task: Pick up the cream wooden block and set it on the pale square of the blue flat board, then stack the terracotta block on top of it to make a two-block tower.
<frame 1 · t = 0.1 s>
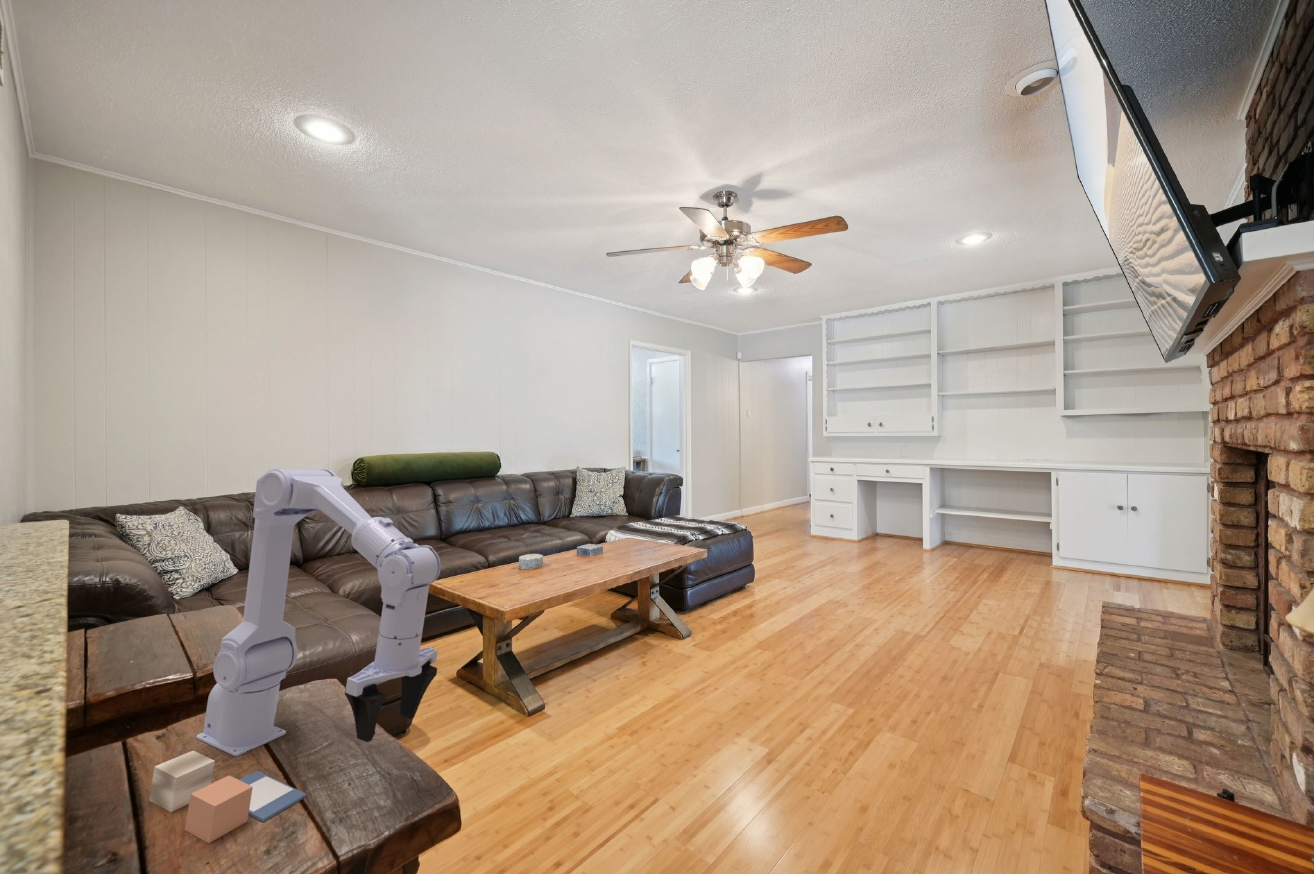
hand: (386, 727, 79), 10 cm above the table, tool pointing down, fingers open, 7 cm apart
cream block: (179, 797, 73), on the table
terracotta block: (216, 826, 69), on the table
blue flat board: (259, 796, 75), on the table
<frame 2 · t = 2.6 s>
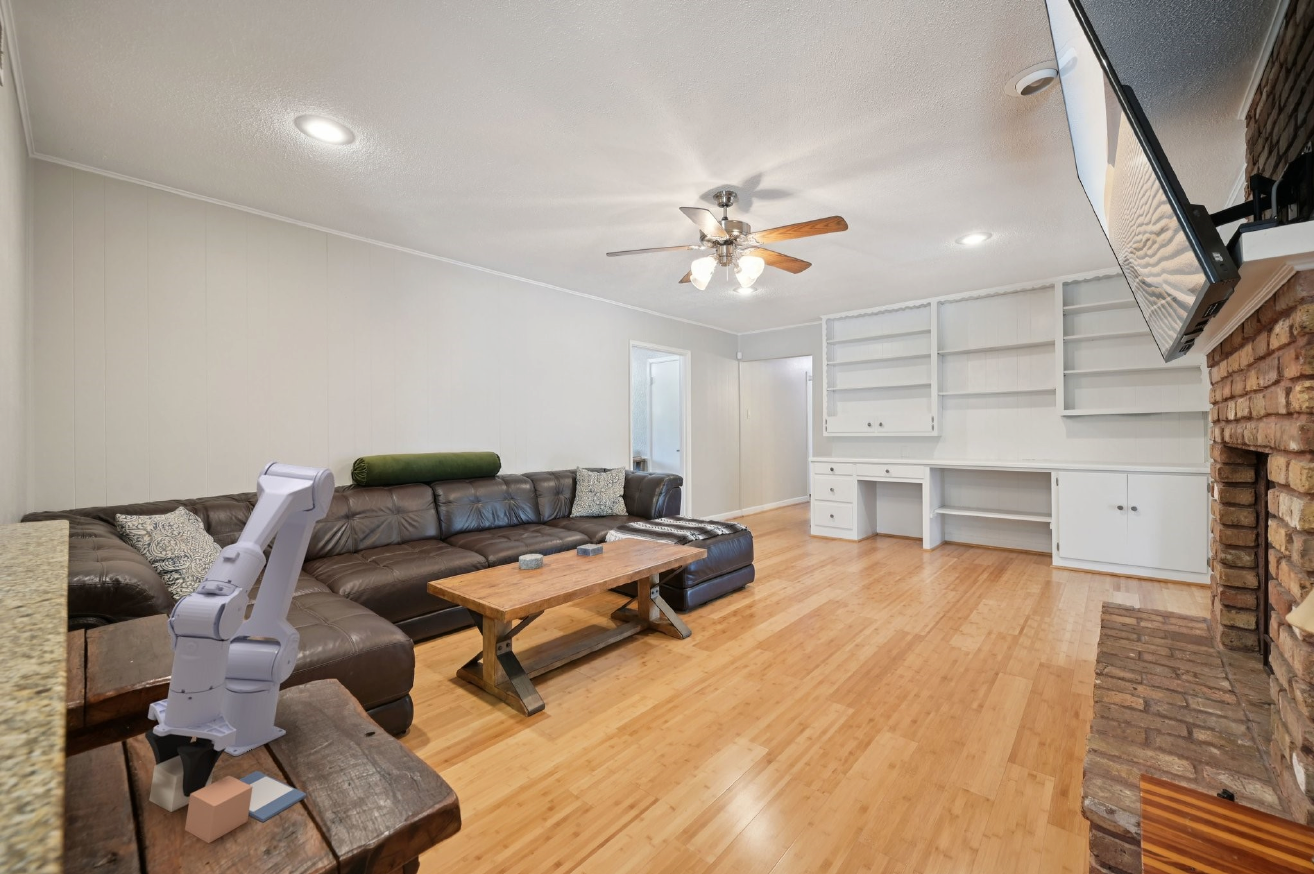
hand: (181, 785, 73), 1 cm above the table, tool pointing down, fingers closed on cream block, 4 cm apart
cream block: (180, 796, 73), on the table, touching gripper
everything else where it was.
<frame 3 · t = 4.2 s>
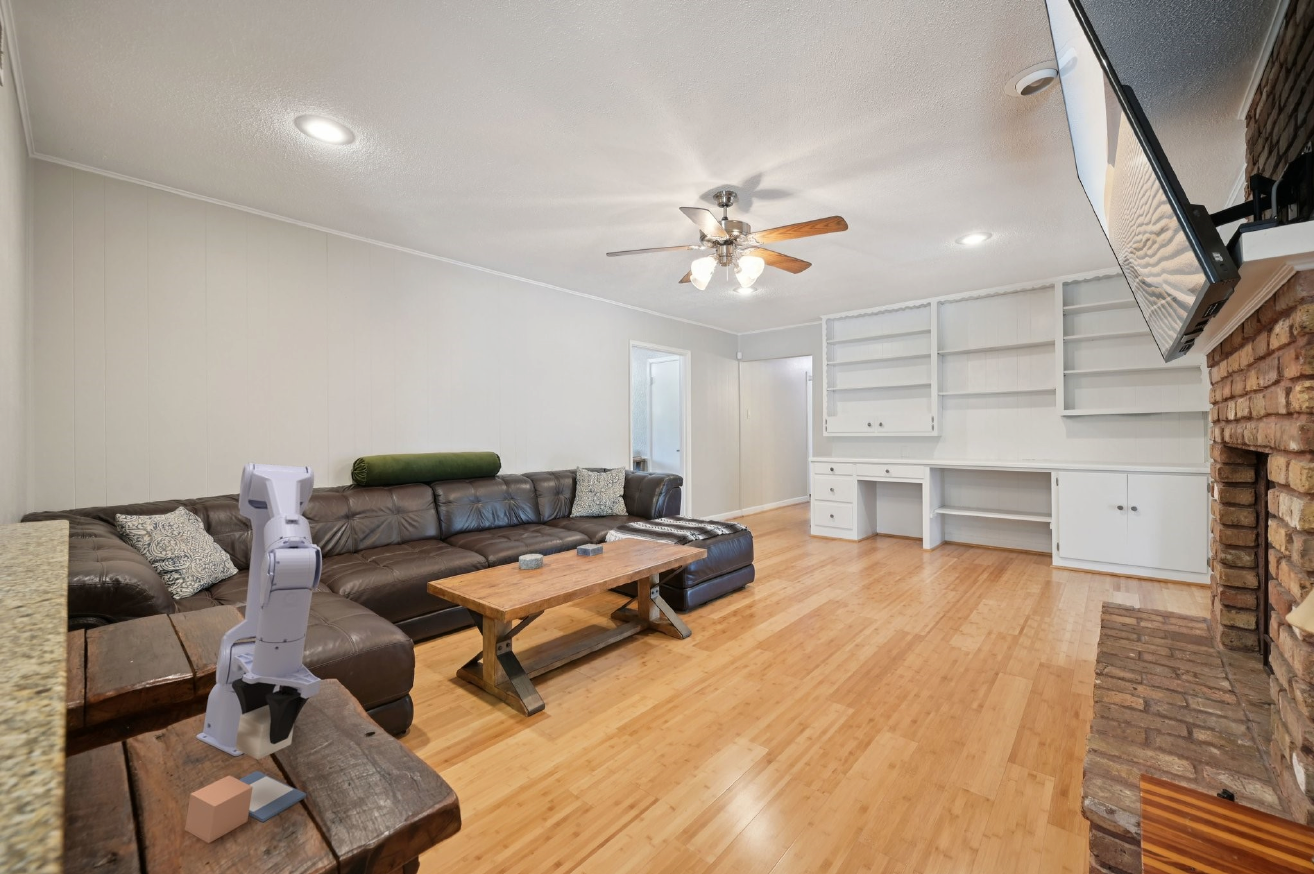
hand: (266, 734, 75), 8 cm above the table, tool pointing down, fingers closed on cream block, 4 cm apart
cream block: (263, 746, 75), point 7 cm above the table, touching gripper
everything else where it was.
when the fingers open (3 cm above the table, at t = 5.8 s): cream block stays where it is, resting on blue flat board.
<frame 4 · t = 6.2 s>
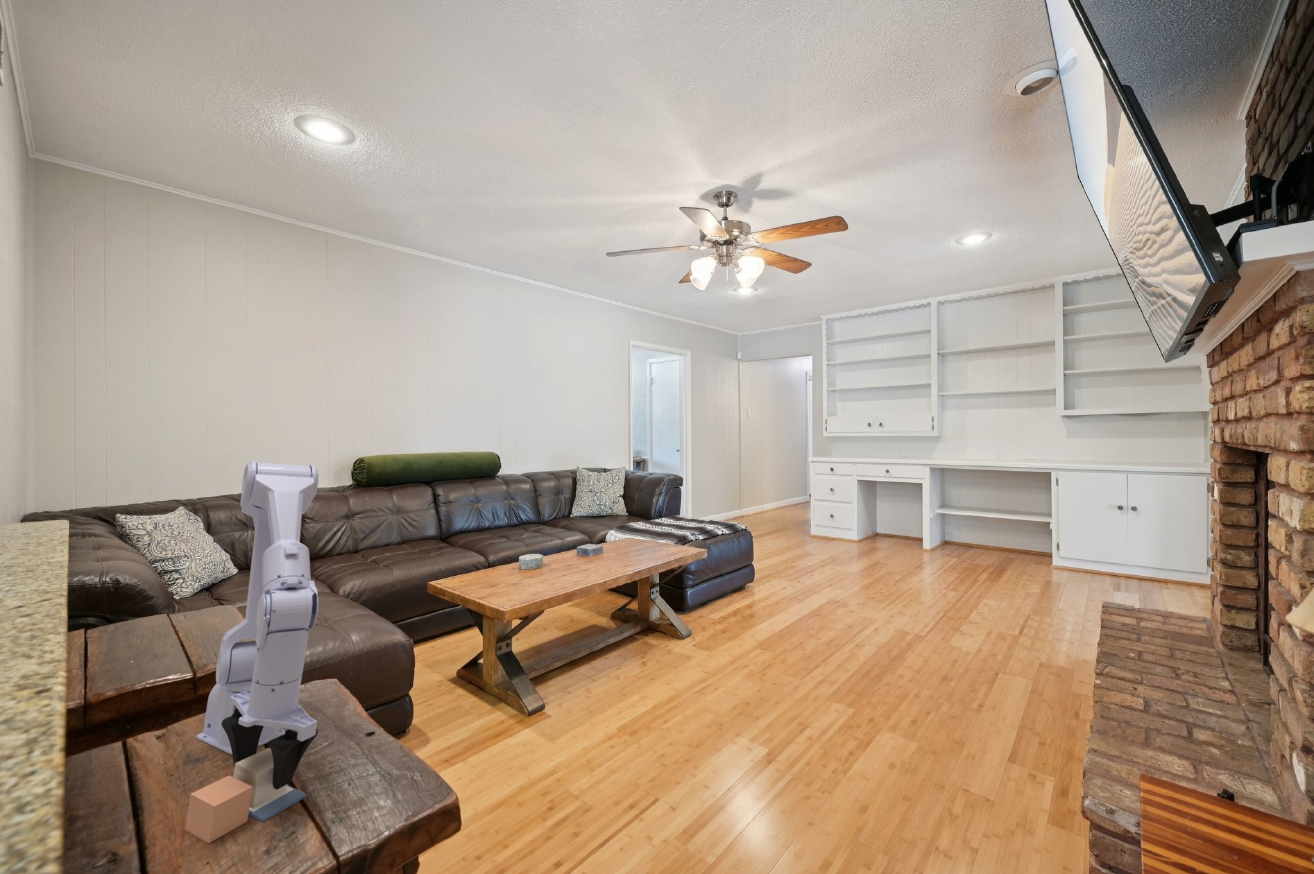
hand: (262, 775, 75), 3 cm above the table, tool pointing down, fingers open, 7 cm apart
cream block: (258, 793, 75), resting on blue flat board
everything else where it was.
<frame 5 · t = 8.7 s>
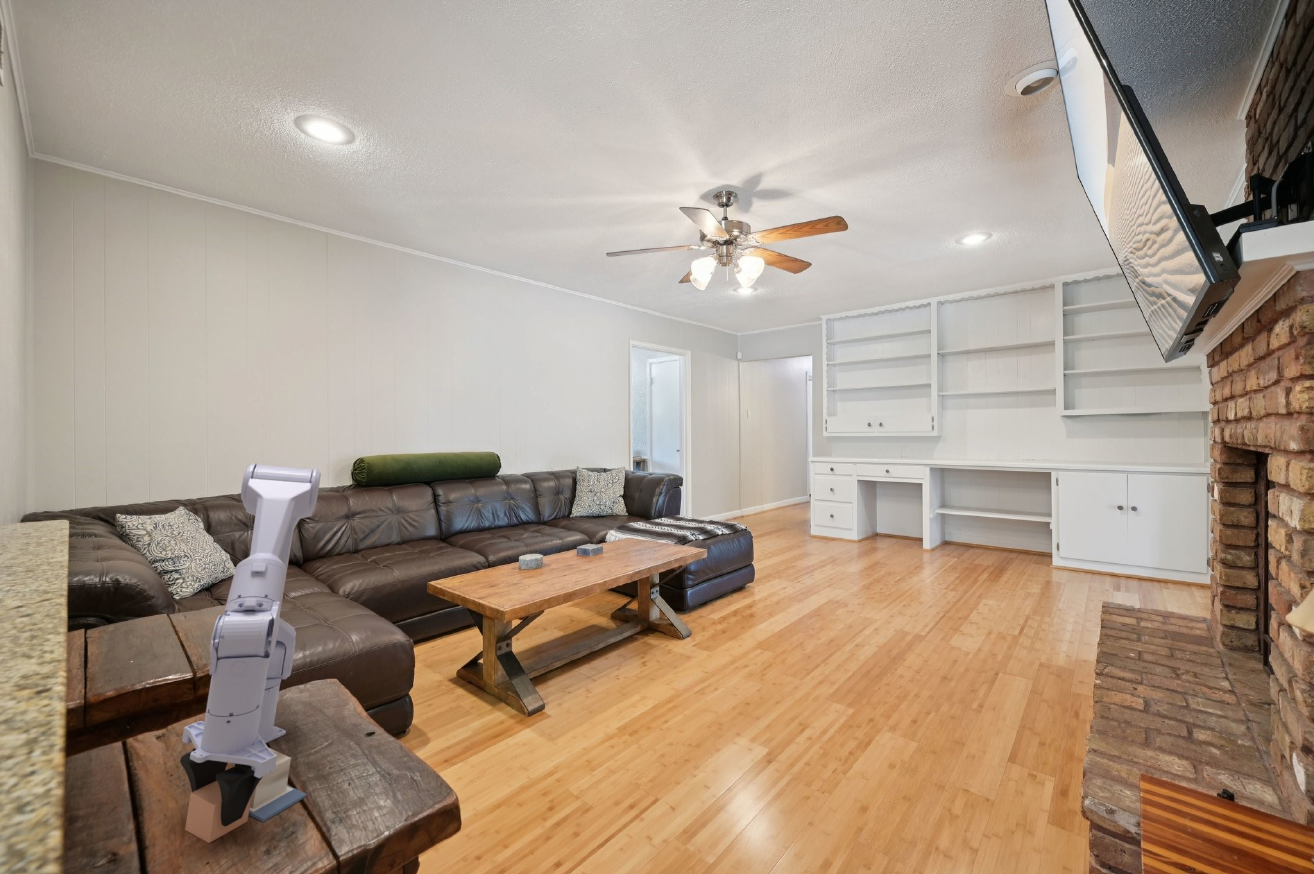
hand: (218, 813, 69), 1 cm above the table, tool pointing down, fingers closed on terracotta block, 4 cm apart
terracotta block: (216, 825, 69), on the table, touching gripper
everything else where it was.
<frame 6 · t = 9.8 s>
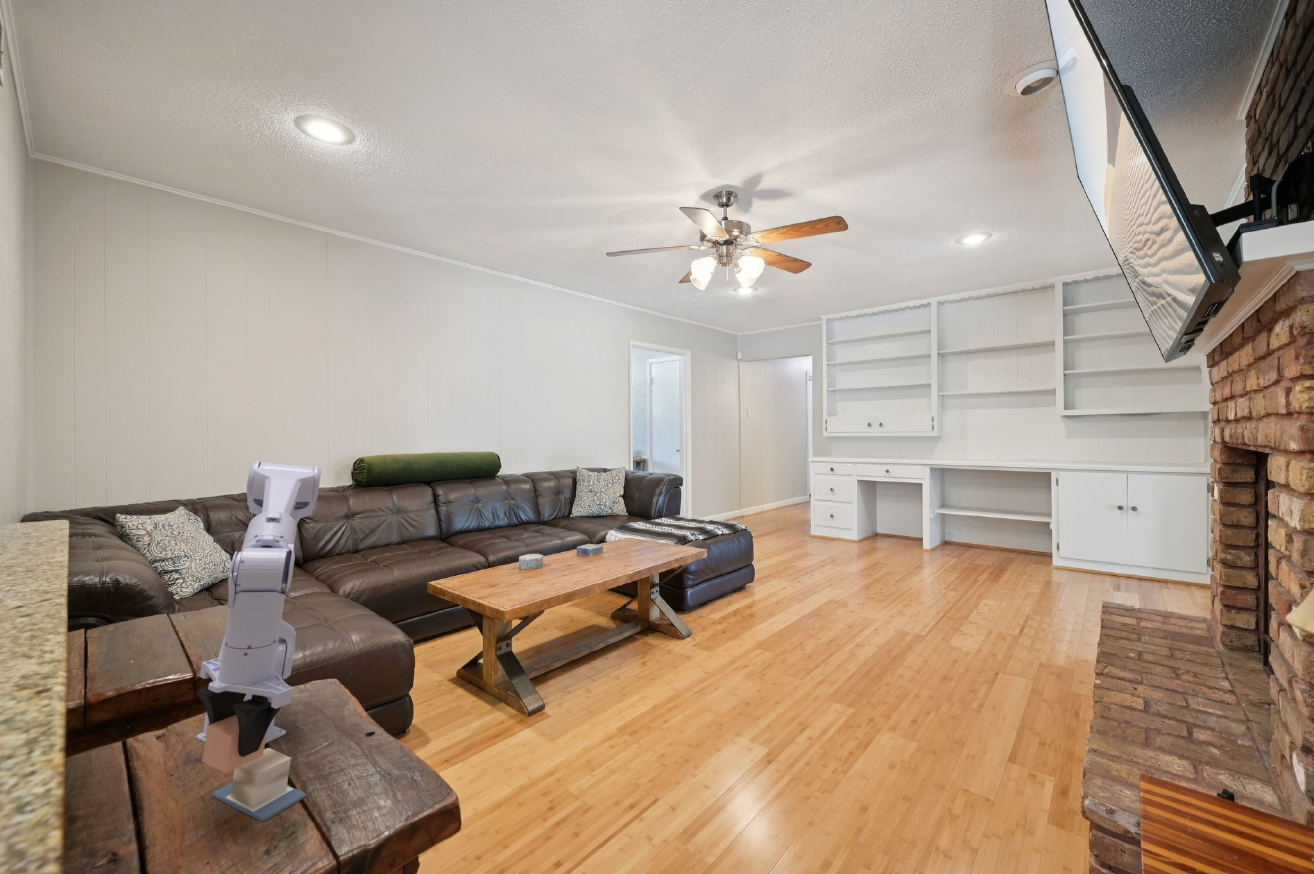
hand: (235, 746, 71), 9 cm above the table, tool pointing down, fingers closed on terracotta block, 4 cm apart
terracotta block: (233, 758, 70), point 8 cm above the table, touching gripper
everything else where it was.
when the fingers open (7 cm above the table, at t = 11.0 s): terracotta block stays where it is, resting on cream block.
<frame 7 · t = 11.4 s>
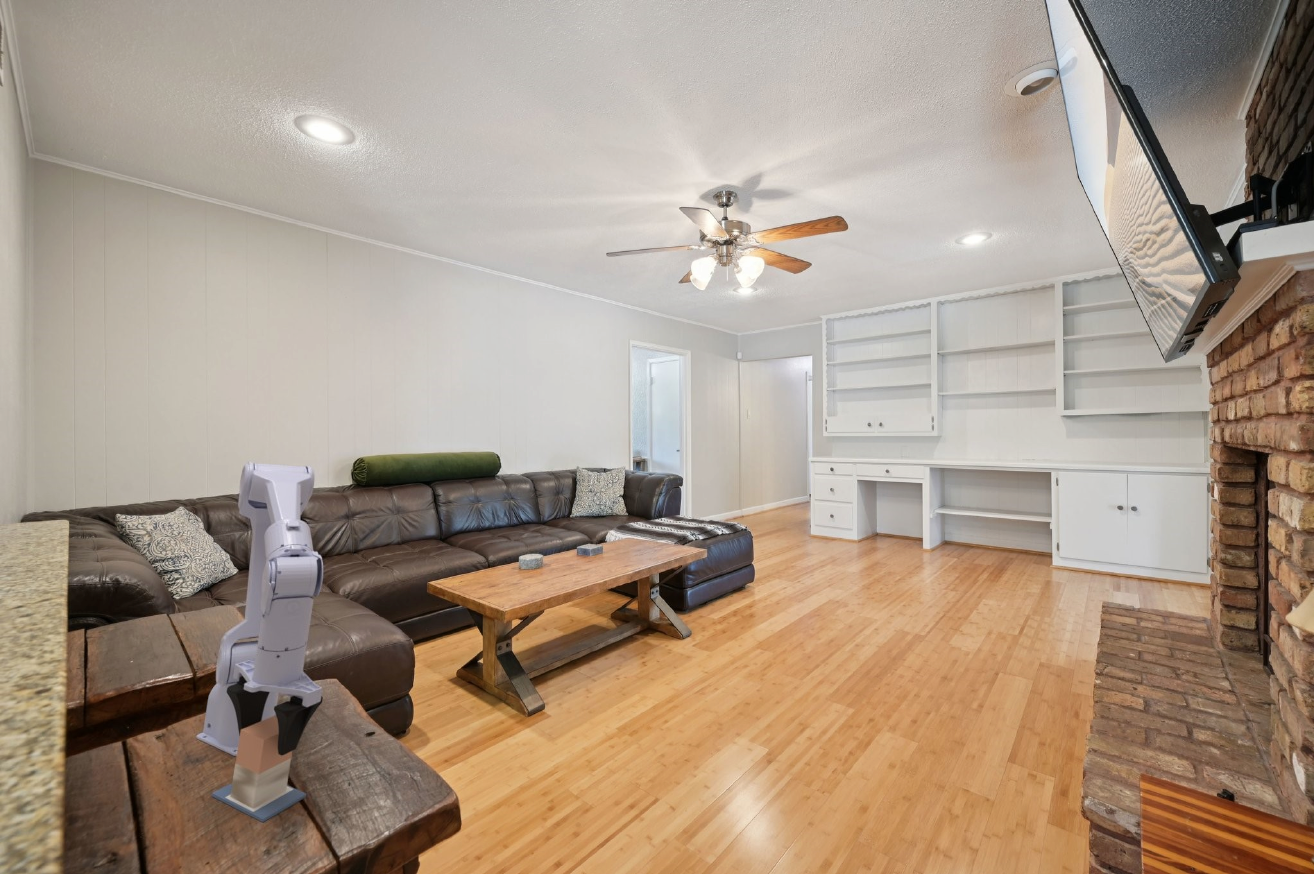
hand: (267, 742, 75), 7 cm above the table, tool pointing down, fingers open, 7 cm apart
cream block: (258, 793, 75), resting on blue flat board, touching terracotta block
terracotta block: (264, 760, 75), point 5 cm above the table, touching cream block
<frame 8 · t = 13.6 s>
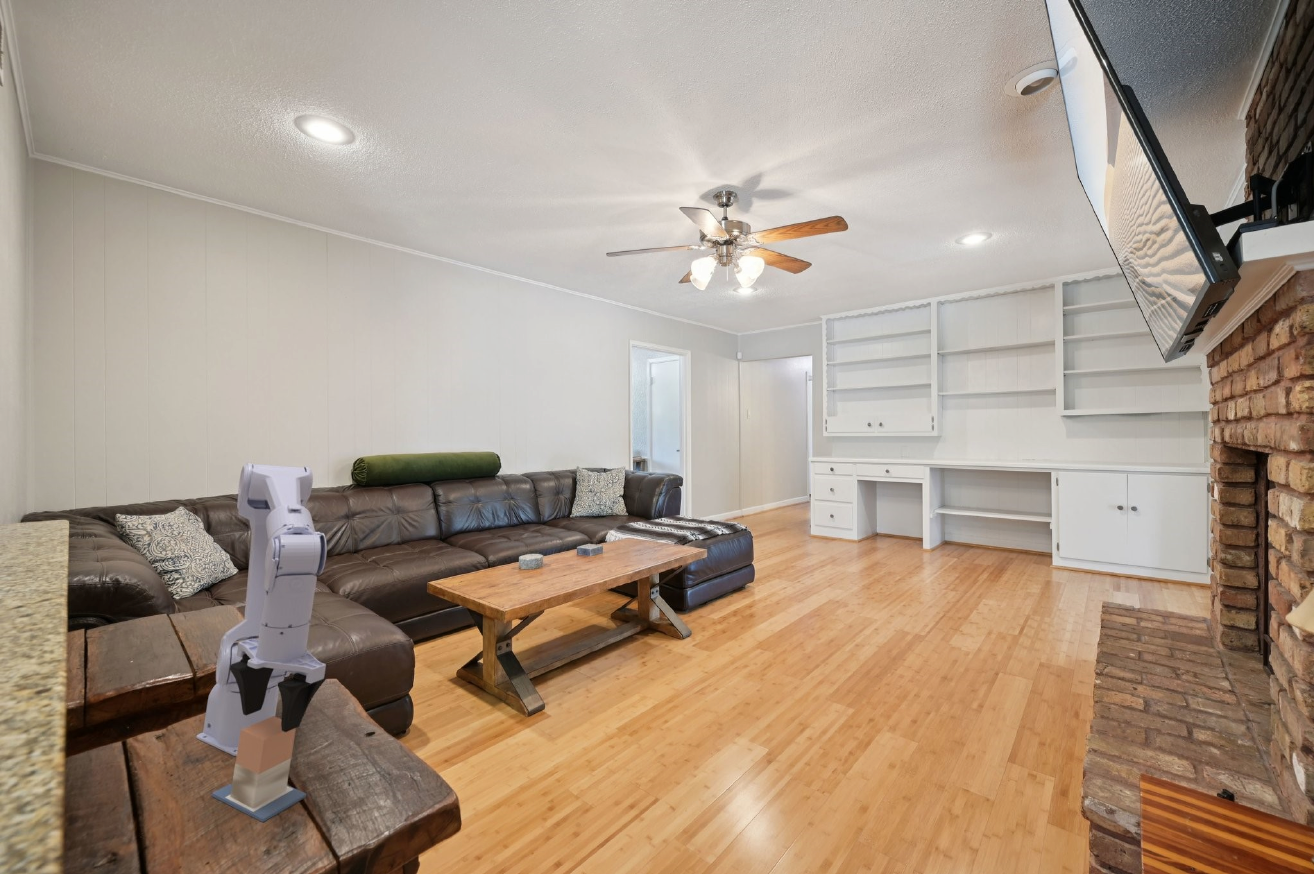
hand: (271, 720, 76), 10 cm above the table, tool pointing down, fingers open, 7 cm apart
nothing on the table moved.
at the end: cream block 0.2 cm off-centre on the blue flat board, point 0.4 cm above the blue flat board's base; terracotta block 0.0 cm off-centre on the cream block, point 4.5 cm above the cream block's base; terracotta block tilted 0° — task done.
